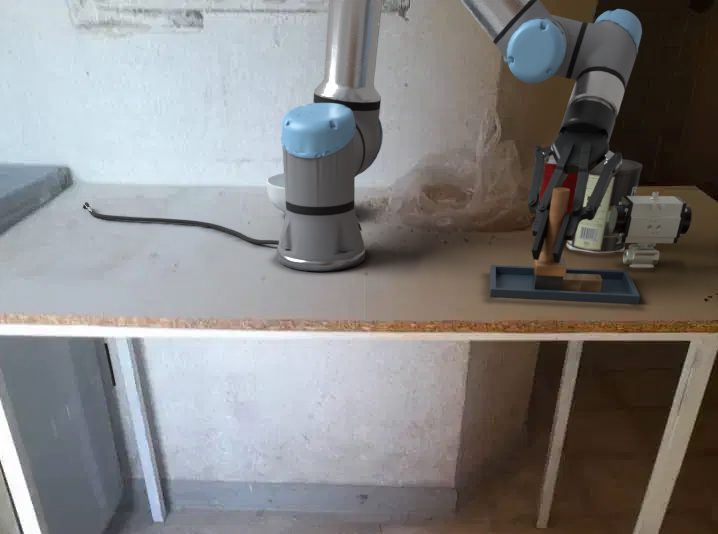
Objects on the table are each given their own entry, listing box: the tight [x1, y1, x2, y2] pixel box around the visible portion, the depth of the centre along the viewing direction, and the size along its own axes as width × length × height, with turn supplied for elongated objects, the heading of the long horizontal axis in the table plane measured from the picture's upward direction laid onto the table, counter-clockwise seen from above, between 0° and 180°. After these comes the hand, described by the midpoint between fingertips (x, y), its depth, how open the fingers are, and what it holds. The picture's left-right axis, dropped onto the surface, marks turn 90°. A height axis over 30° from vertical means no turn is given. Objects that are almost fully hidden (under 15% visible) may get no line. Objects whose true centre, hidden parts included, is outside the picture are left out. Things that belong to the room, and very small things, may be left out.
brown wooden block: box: [561, 273, 582, 292], centre depth 113 cm, size 3×3×2 cm
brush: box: [533, 188, 570, 291], centre depth 110 cm, size 4×7×14 cm, turn 170°
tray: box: [489, 264, 641, 305], centre depth 114 cm, size 22×12×2 cm, turn 81°
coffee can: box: [565, 158, 644, 254], centre depth 128 cm, size 10×10×14 cm
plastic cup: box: [539, 155, 578, 214], centre depth 143 cm, size 11×11×12 cm
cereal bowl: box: [266, 172, 286, 214], centre depth 150 cm, size 17×17×7 cm
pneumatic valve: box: [609, 191, 693, 269], centre depth 119 cm, size 6×12×12 cm, turn 86°
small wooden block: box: [580, 274, 602, 293], centre depth 112 cm, size 3×3×2 cm
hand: (545, 256), depth 108 cm, fingers closed on brush, 2 cm apart
